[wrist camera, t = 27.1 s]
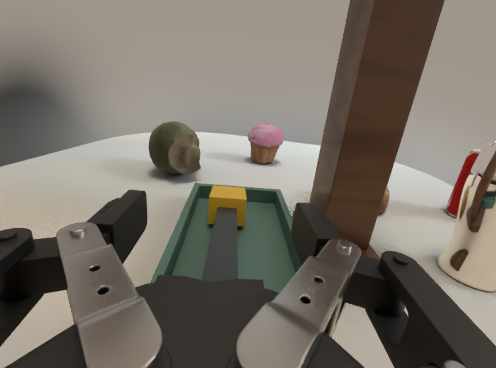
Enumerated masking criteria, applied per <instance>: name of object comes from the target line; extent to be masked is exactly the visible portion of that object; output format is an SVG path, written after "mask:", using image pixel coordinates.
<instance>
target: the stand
mask: <svg viewBox="0 0 496 368" xmlns="http://www.w3.org/2000/svg"><path fill="white" fill-rule="evenodd" d="M444 1H445V0H350V5H349V10H348V14H347V19H346V24H345V30H344V34H343V39H342V44H341V49H340V54H339V59H338V64H337V69H336V74H335V79H334V84H333V89H332V94H331V99H330V104H329V109H328V114H327V119H326V124H325V129H324V134H323V139H322V144H321V148H320V153H319V158H318V163H317V168H316V173H315V178H314V183H313V188H312V193H311V198H310V203H311V204H312V205H313V207H314V208H315V210H316V212H317V213H321V214H323V215H324V216H326V217H327V218H328V219H329V221H330V222H331V224H332V225H333V227H334V229H336V231H337V232H338V234H339V235H340V237H341V238H342V239H344V240H347V241H350V242H352V243H354V244H355V245H357V246H358V247H359V248H360V250H361V255H363V256H366V257H370V258H374V259H378V260H380V259H381V258H380V257H379V256H378V255H377V254H376V252H375V251H374V250H373V249H372V247H371V246H370V245H369V242H370V239H371V235H372V232H373V229H374V226H375V222H376V219H377V216H378V213H379V210H380V206H381V203H382V200H383V197H384V194H385V190H386V187H387V184H388V181H389V177H390V174H391V171H392V168H393V165H394V161H395V158H396V155H397V152H398V149H399V145H400V142H401V139H402V136H403V132H404V129H405V126H406V122H407V119H408V116H409V113H410V110H411V107H412V104H413V100H414V97H415V94H416V91H417V87H418V84H419V81H420V78H421V75H422V71H423V68H424V65H425V62H426V59H427V55H428V52H429V49H430V46H431V42H432V39H433V36H434V33H435V30H436V26H437V23H438V20H439V17H440V13H441V10H442V7H443V4H444ZM294 212H295V211H293V218H294Z"/></svg>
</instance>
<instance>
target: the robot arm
mask: <svg viewBox="0 0 496 368" xmlns="http://www.w3.org/2000/svg"><path fill="white" fill-rule="evenodd" d="M146 225H147V201H146V193H145V191H139V190H128V191H127V192H126V193H125V194H124V195H123V196H122V197H121V198H117V199H114V200H112V201H110V202H108V203H107V204H106V205H105V206H104V207H103V208H101V209H100V210H99V211H98V212H97V213H96V214H95V215H94V216H92V217H91V218H90V219H89V220H88V221H87V222H83V223H75V224H71V225H68V226H66V227H64V228H62V229H60V230H59V231H58V232H57V234H56V237H52V238H43V239H33V236H32V232H31V230H29V229H25V228H12V229H7V230H2V231H0V346H1V345H2V344H3V343H4V342H5V340H6V339H7V338H8V337H9V336H10V334H11V333H12V332H13V331H14V330H15V328H16V327H17V326H18V325H19V324H20V323H21V321H22V320H23V319H24V318H25V317H26V315H27V314H28V313H29V312H30V311H31V309H32V308H33V307H34V306H35V305H36V304H37V302H38V301H39V300H40V299H41V298H42V296H43V295H44V293H50V292H56V291H61V290H67V294H68V299H69V303H70V308H71V313H72V317H73V322H74V325H72V326H71V327H69V328H68V329H66V330H64V331H63V332H61V333H60V334H58V335H56V336H55V337H53V338H52V339H50V340H48V341H47V342H45V343H44V344H42V345H40V346H39V347H37V348H36V349H34V350H32V351H31V352H29V353H28V354H26V355H24V356H23V357H21V358H20V359H18V360H16V361H15V362H13V363H12V364H10V365H8V366H7V367H5V368H364V367H363V366H362V365H361V364H360V363H359V362H358V361H357V360H355V359H354V358H353V357H352V356H351V355H350V354H349V353H348V352H347V351H345V350H344V349H343V348H342V347H341V346H340V345H339V344H338V343H337V342H335V341H334V340H333V339H332V335H333V333H334V330H335V328H336V326H337V324H338V321H339V319H340V317H341V314H342V312H343V310H344V308H345V305H346V303H349V304H352V305H356V306H359V307H363V308H365V310H366V312H367V314H368V316H369V318H370V320H371V322H372V324H373V326H374V328H375V330H376V332H377V334H378V336H379V338H380V340H381V342H382V344H383V346H384V348H385V350H386V352H387V354H388V356H389V358H390V360H391V362H392V364H393V366H394V368H496V346H495V345H494V344H493V343H492V342H491V341H490V339H489V338H488V337H487V336H486V335H485V334H484V333H483V332H482V331H481V330H480V329H479V328H478V327H477V326H476V325H475V324H474V323H473V321H472V320H471V319H470V318H469V317H468V316H467V315H466V314H465V313H464V312H463V311H462V310H461V309H460V308H459V307H458V306H457V304H456V303H455V302H454V301H453V300H452V299H451V298H450V297H449V296H448V295H447V294H446V293H445V292H444V291H443V290H442V289H441V288H440V286H439V285H438V284H437V283H436V282H435V281H434V280H433V279H432V278H431V277H430V276H429V275H428V274H427V273H426V272H425V271H424V269H423V268H422V267H421V266H420V265H419V264H418V263H417V262H416V261H415V260H413V259H412V258H410V257H408V256H406V255H404V254H402V253H398V252H394V251H386V252H384V253H383V254H382V256H381V259H380V260H378V259H374V258H370V257H366V256H363V255H361V250H360V248H359V247H358V246H357V245H355V244H354V243H352V242H350V241H347V240H344V239H342V238H341V237H340V235H339V234H338V232H337V231H336V229H334V227H333V225H332V224H331V222H330V221H329V219H328V218H327V217H326V216H324V215H323V214H321V213H317V212H316V210H315V208H314V207H313V205H312V204H311V203H297V204H296V207H295V212H294V218H293V223H292V229H291V237H292V241H293V244H294V247H295V249H296V252H297V255H298V258H299V260H300V263H301V267H300V268H299V270H298V271H297V272H296V273H295V274H294V276H293V277H292V278H291V279H290V281H289V282H288V283H287V284H286V285H285V287H284V288H283V289H282V290H281V291H280V293H277V292H275V291H273V290H270V289H267V288H264V283H263V280H255V279H232V280H224V281H217V282H207V281H203V280H199V279H195V278H191V277H187V276H176V275H158V276H157V279H156V281H155V283H150V284H145V285H142V286H139V287H136V288H135V287H134V285H133V284H132V282H131V280H130V278H129V276H128V274H127V272H126V270H125V268H124V266H123V263H124V261H125V260H126V258H127V257H128V255H129V254H130V252H131V251H132V249H133V247H134V246H135V244H136V243H137V241H138V240H139V238H140V237H141V235H142V234H143V232H144V230H145V228H146ZM405 306H406V308H407V311H408V316H409V317H408V316H407V314H406V313H405V311H404V308H405Z"/></svg>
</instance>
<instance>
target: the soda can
mask: <svg viewBox="0 0 496 368" xmlns="http://www.w3.org/2000/svg"><path fill="white" fill-rule="evenodd" d="M480 152H481V150H479V149H472V151H471V153H470V154H469V155H468V156H467V158H466V160H465V162H464V165H463V167H462V170H461V172H460V175H459V177H458V179H457V182H456V184H455V187H454V189H453V192H452V194H451V196H450V199H449V201H448V204H447V206H446V211H447V213H448V214H449V215H451V216H452V217H454V218H457V214H458V209H459V204H460V199H461V195H462V191H463V188H464V185H465V182H466V180H467V177H468V175H469V173H470V171H471V169H472V166H473V165H474V163H475V161H476V159H477V157H478V155H479V153H480Z"/></svg>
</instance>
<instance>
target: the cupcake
mask: <svg viewBox="0 0 496 368" xmlns="http://www.w3.org/2000/svg"><path fill="white" fill-rule="evenodd" d="M248 140H249V141H250V142H251V159H252V161H254V162H256V163H262V164H266V163H268V162H273V160H274V157H275V155H276V152H277V150H278V148H279V145H281V144H282V143H283V134H282V132H281V130H280V129H279V128H277V127H275V126H273V125H270V124H268V123H265V124H258V125H256V126H255V127H254V128H253V129H252V130H251V131H250V132H249V134H248Z"/></svg>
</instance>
